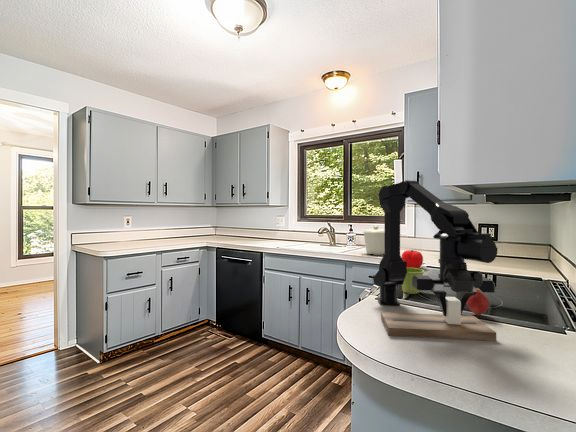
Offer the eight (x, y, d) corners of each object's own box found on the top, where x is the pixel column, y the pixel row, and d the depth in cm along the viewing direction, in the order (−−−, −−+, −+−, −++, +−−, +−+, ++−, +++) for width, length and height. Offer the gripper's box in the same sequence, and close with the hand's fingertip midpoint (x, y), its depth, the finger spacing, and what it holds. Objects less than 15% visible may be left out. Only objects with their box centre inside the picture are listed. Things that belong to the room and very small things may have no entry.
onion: (462, 312, 95) (462, 286, 95) (479, 311, 95) (479, 286, 95) (474, 318, 89) (474, 291, 89) (493, 318, 89) (493, 290, 89)
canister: (381, 257, 210) (381, 226, 209) (358, 254, 222) (358, 225, 222) (393, 254, 223) (393, 225, 222) (370, 252, 235) (370, 224, 235)
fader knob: (442, 318, 83) (442, 296, 83) (454, 319, 83) (454, 296, 83) (448, 323, 79) (448, 300, 79) (460, 324, 79) (460, 301, 79)
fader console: (381, 319, 89) (381, 311, 89) (473, 323, 86) (473, 315, 86) (388, 335, 77) (388, 326, 77) (496, 340, 74) (496, 331, 74)
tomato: (407, 270, 161) (407, 251, 161) (397, 266, 174) (397, 248, 174) (428, 270, 162) (428, 250, 162) (417, 266, 174) (417, 248, 174)
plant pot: (428, 295, 113) (427, 272, 113) (401, 295, 114) (401, 272, 114) (419, 289, 123) (419, 267, 123) (395, 288, 124) (395, 267, 124)
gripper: (423, 261, 74) (423, 325, 74) (507, 262, 71) (507, 329, 71) (411, 254, 85) (411, 310, 85) (484, 255, 82) (484, 313, 83)
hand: (451, 316), depth 81 cm, fingers closed on fader knob, 3 cm apart
